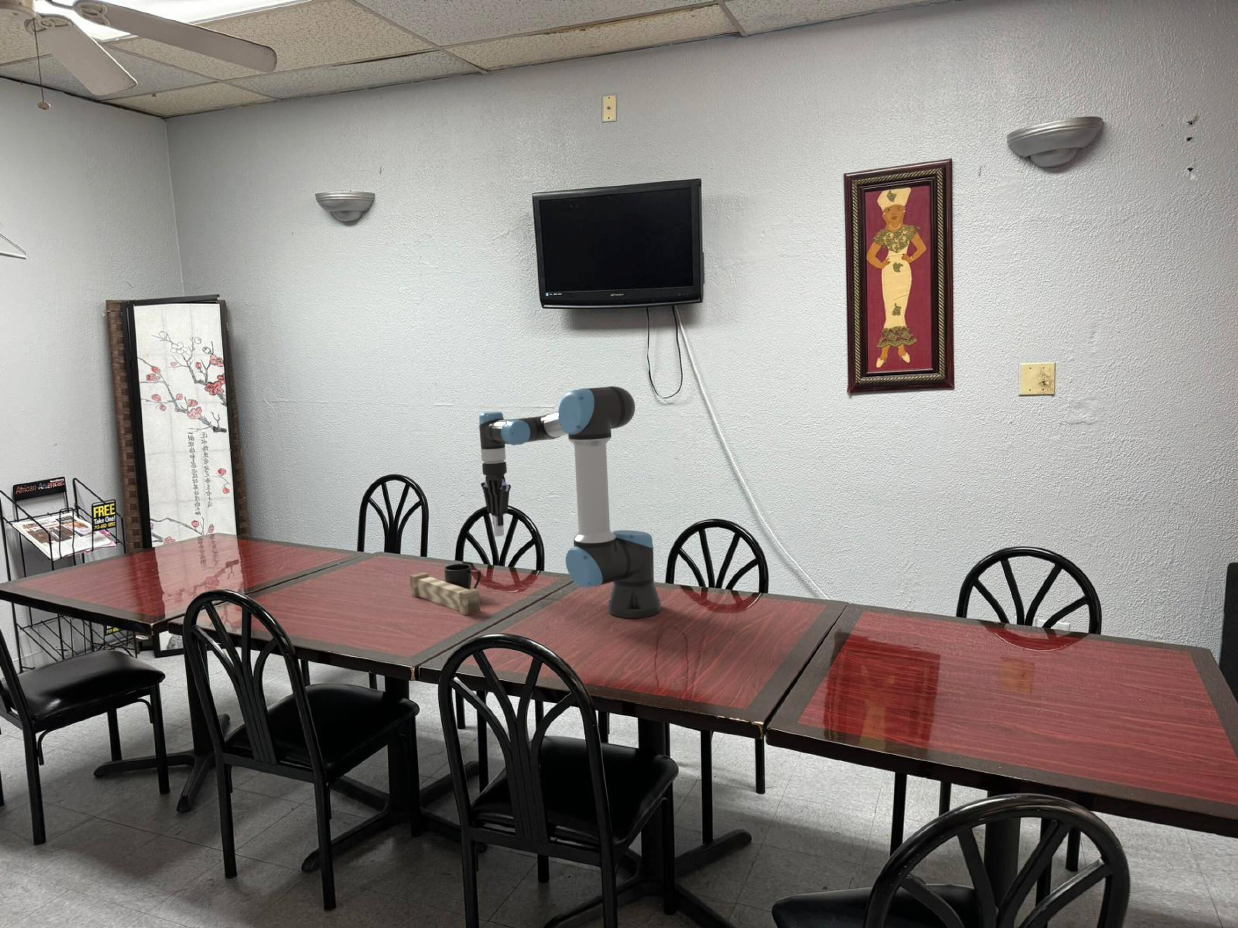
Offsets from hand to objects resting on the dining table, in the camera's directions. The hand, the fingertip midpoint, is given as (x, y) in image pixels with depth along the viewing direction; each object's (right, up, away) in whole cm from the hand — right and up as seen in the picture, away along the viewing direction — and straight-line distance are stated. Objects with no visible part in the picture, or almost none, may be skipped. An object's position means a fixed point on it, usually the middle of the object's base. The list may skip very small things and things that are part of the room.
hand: (499, 535), depth 279 cm
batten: (-15, -19, -11) cm, 27 cm away
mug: (-10, -19, -6) cm, 22 cm away
